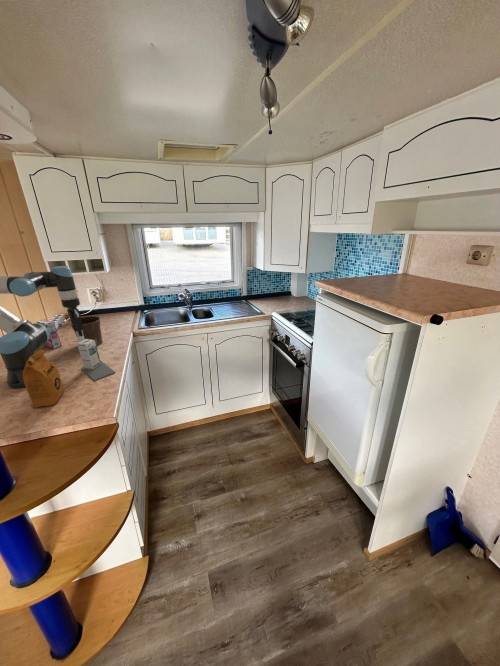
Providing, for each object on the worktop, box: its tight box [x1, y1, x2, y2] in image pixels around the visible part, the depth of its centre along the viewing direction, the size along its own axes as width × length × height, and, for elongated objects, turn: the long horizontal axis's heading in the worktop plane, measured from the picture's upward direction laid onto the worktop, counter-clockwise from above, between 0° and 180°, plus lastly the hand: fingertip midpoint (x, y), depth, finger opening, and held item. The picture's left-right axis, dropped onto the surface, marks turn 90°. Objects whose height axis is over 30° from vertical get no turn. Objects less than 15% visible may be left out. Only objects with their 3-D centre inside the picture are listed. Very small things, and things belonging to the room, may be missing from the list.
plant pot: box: [69, 315, 104, 347], centre depth 165 cm, size 16×16×16 cm
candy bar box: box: [35, 319, 62, 350], centre depth 164 cm, size 11×5×16 cm, turn 62°
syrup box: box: [76, 339, 102, 369], centre depth 138 cm, size 6×6×14 cm
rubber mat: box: [81, 360, 116, 382], centre depth 138 cm, size 10×18×1 cm, turn 48°
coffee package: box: [23, 348, 66, 409], centre depth 112 cm, size 10×12×22 cm
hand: (81, 341), depth 142 cm, fingers closed
